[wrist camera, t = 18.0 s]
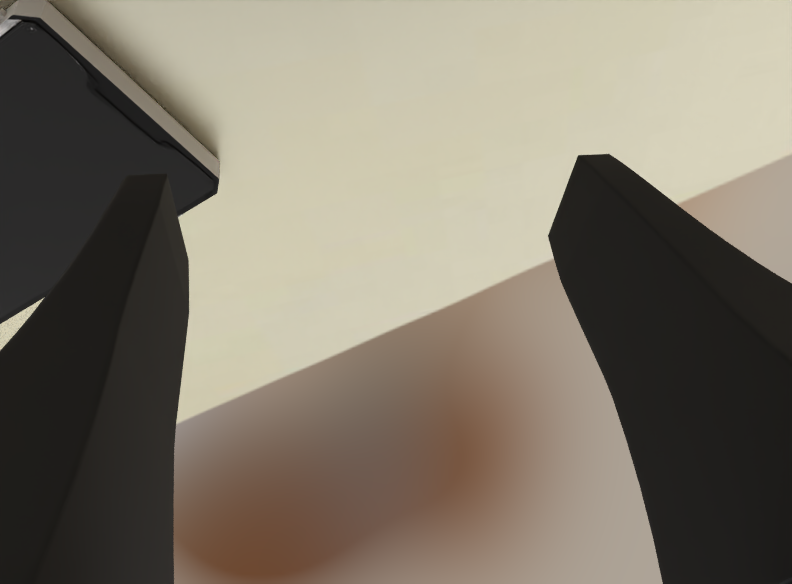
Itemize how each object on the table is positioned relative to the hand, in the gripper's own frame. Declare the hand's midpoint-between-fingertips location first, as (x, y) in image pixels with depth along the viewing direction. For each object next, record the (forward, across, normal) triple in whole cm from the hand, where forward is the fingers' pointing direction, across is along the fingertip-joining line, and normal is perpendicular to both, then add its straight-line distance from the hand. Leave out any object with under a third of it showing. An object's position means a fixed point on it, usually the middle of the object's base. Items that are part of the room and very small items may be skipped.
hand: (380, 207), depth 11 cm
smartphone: (+11, +12, +8) cm, 18 cm away
